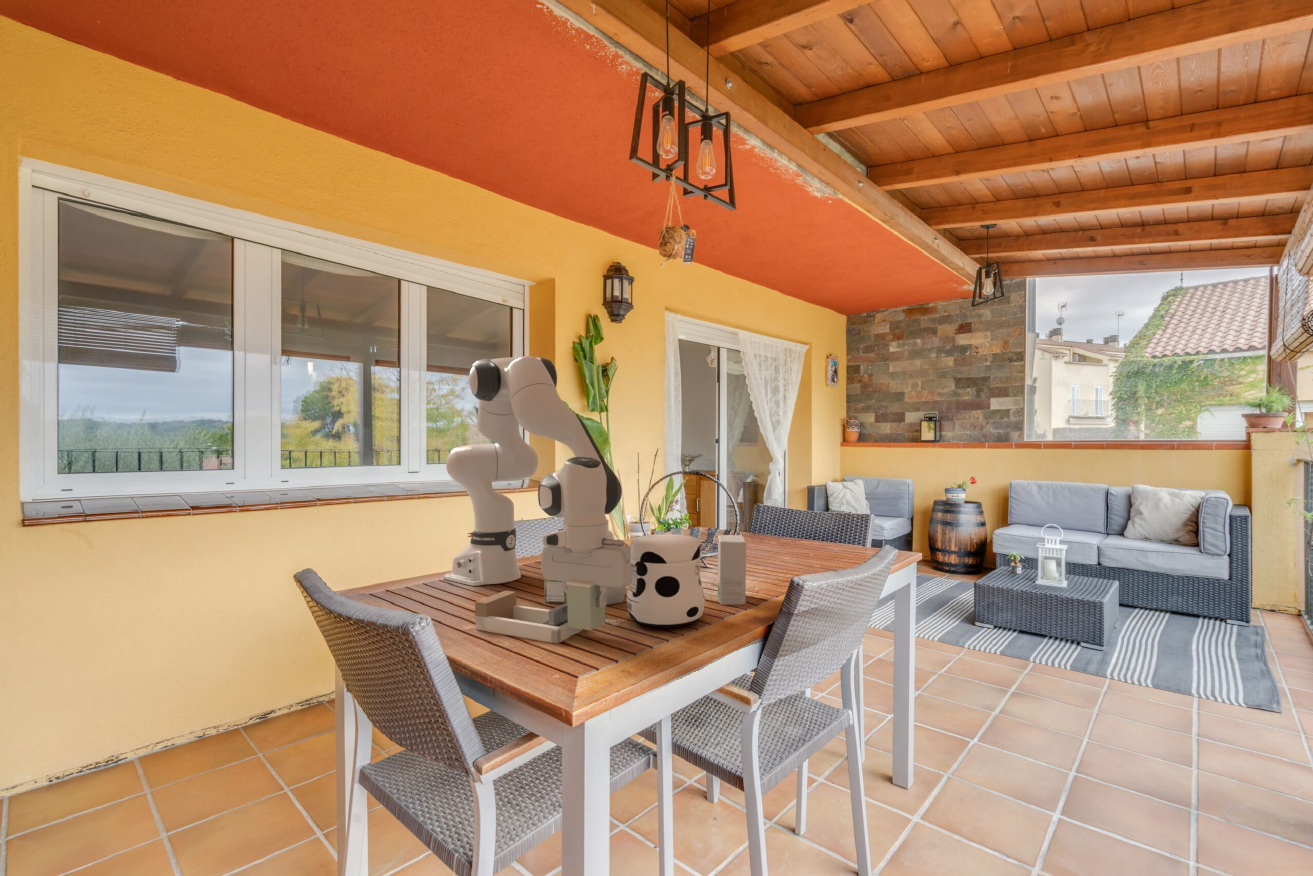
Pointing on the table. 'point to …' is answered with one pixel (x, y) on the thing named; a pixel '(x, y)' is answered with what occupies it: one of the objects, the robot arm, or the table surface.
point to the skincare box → (731, 569)
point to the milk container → (665, 581)
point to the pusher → (558, 616)
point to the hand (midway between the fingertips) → (586, 604)
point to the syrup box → (554, 591)
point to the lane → (518, 619)
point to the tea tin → (584, 605)
